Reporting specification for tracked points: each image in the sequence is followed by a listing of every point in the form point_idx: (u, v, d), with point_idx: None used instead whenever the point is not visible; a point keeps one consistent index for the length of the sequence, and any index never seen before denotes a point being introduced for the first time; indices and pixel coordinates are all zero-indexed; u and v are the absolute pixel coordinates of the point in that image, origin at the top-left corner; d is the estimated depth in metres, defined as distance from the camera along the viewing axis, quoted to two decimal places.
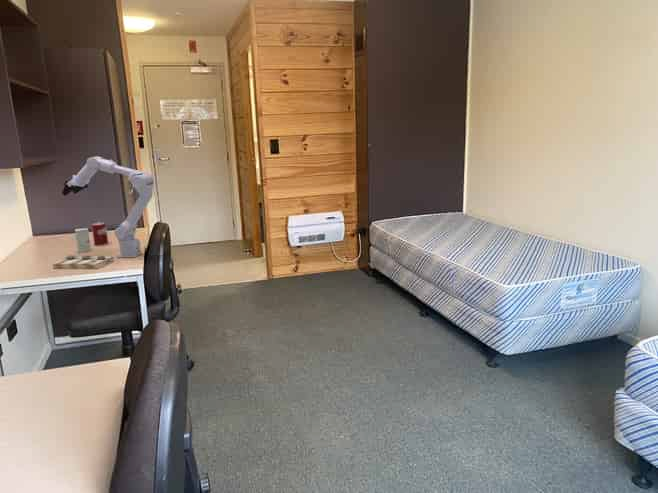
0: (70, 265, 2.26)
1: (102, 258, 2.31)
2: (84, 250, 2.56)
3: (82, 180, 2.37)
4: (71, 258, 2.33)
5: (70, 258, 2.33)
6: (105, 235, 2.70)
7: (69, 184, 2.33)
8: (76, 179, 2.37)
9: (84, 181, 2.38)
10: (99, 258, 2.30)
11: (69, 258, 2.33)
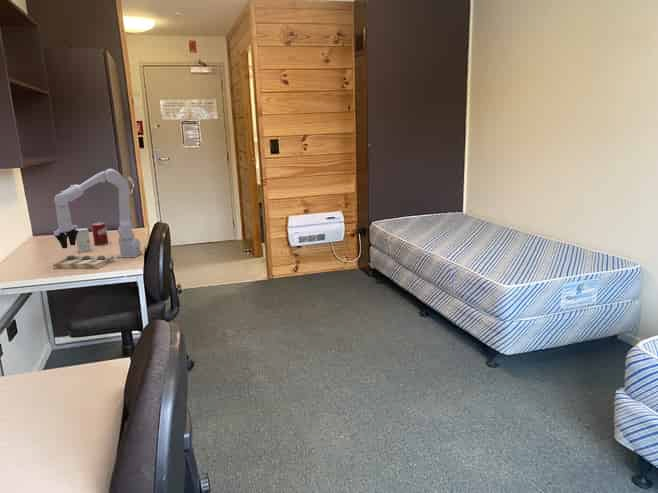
0: (70, 265, 2.26)
1: (102, 258, 2.31)
2: (84, 250, 2.56)
3: (64, 223, 2.28)
4: (71, 258, 2.33)
5: (70, 258, 2.33)
6: (105, 235, 2.70)
7: (56, 233, 2.24)
8: (60, 227, 2.28)
9: (67, 223, 2.28)
10: (99, 258, 2.30)
11: (69, 258, 2.33)
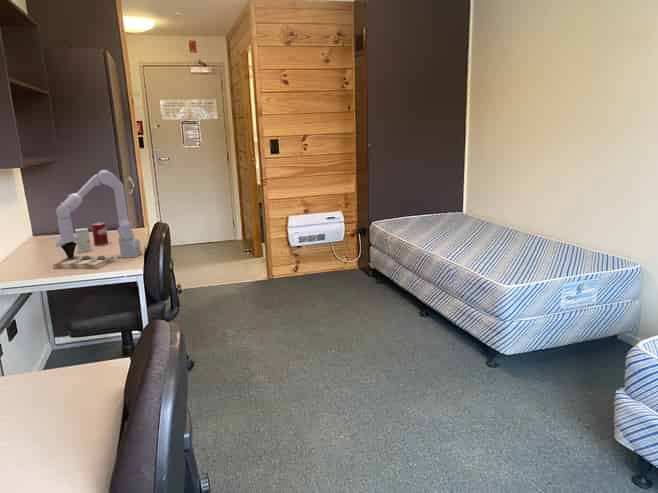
0: (70, 265, 2.26)
1: (102, 258, 2.31)
2: (84, 250, 2.56)
3: (66, 234, 2.29)
4: (71, 259, 2.33)
5: (70, 259, 2.33)
6: (105, 235, 2.70)
7: (58, 244, 2.25)
8: (62, 238, 2.29)
9: (69, 234, 2.30)
10: (99, 258, 2.30)
11: (69, 259, 2.33)
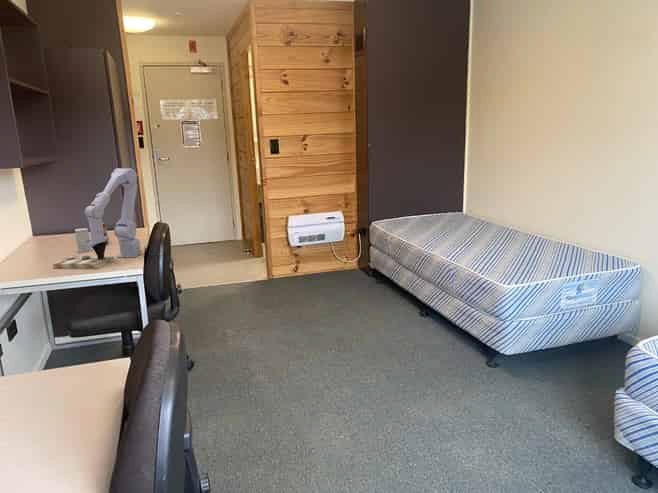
0: (70, 265, 2.26)
1: None
2: (84, 250, 2.56)
3: (97, 235, 2.27)
4: None
5: None
6: (105, 235, 2.70)
7: (89, 245, 2.23)
8: (93, 239, 2.27)
9: (100, 235, 2.27)
10: None
11: None
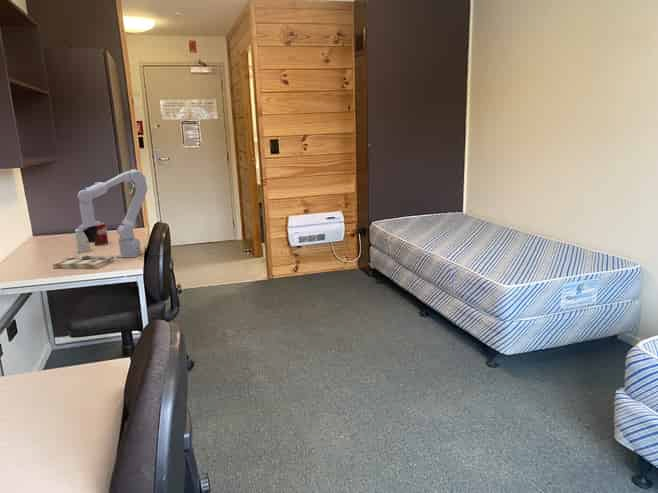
0: (70, 265, 2.26)
1: None
2: (84, 250, 2.56)
3: (88, 219, 2.31)
4: None
5: None
6: (105, 235, 2.70)
7: (80, 228, 2.27)
8: (84, 222, 2.31)
9: (91, 219, 2.31)
10: None
11: None
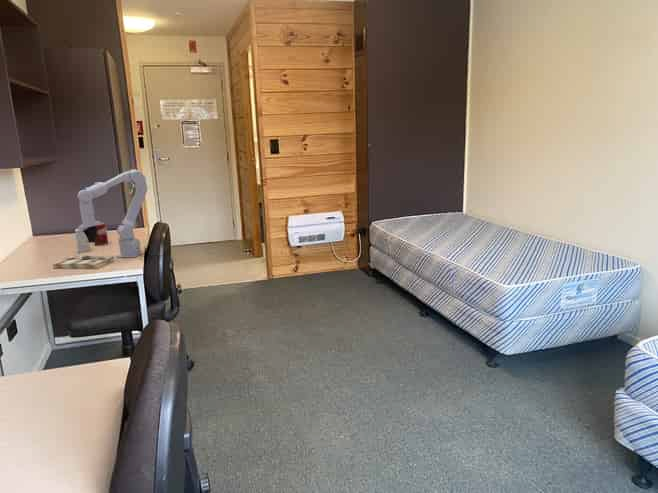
0: (70, 265, 2.26)
1: None
2: (84, 250, 2.56)
3: (88, 219, 2.31)
4: None
5: None
6: (105, 235, 2.70)
7: (80, 228, 2.27)
8: (84, 222, 2.31)
9: (91, 219, 2.31)
10: None
11: None
